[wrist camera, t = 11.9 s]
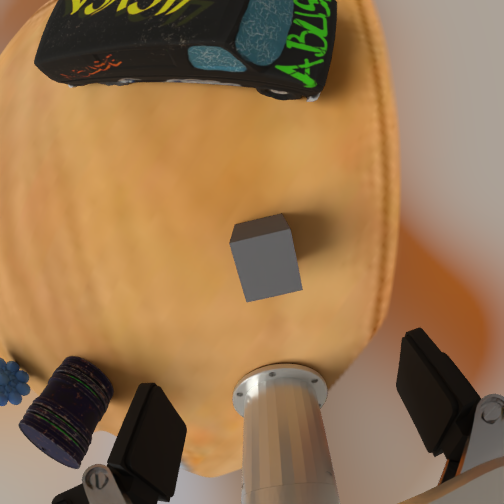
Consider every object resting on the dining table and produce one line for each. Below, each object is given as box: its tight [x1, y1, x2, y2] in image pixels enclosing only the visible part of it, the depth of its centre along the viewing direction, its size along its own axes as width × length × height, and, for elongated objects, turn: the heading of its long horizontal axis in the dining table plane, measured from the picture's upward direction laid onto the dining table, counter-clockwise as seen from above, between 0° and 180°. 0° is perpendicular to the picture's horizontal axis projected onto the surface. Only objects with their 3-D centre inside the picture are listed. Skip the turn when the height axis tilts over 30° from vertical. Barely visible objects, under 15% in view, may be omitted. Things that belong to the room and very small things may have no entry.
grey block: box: [229, 213, 303, 302], centre depth 23 cm, size 5×4×6 cm
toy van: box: [34, 0, 337, 102], centre depth 15 cm, size 11×25×10 cm, turn 80°
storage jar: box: [19, 356, 114, 469], centre depth 26 cm, size 10×10×15 cm
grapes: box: [0, 358, 30, 406], centre depth 28 cm, size 12×7×12 cm, turn 60°
